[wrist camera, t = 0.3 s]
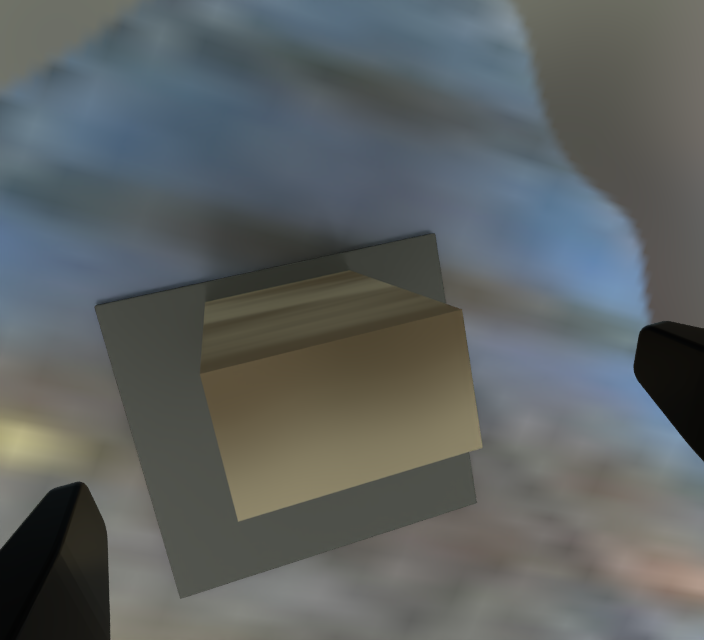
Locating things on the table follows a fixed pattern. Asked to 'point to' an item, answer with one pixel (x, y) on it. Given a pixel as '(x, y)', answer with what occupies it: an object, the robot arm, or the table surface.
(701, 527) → the table surface
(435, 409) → the maple block
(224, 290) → the rubber mat
